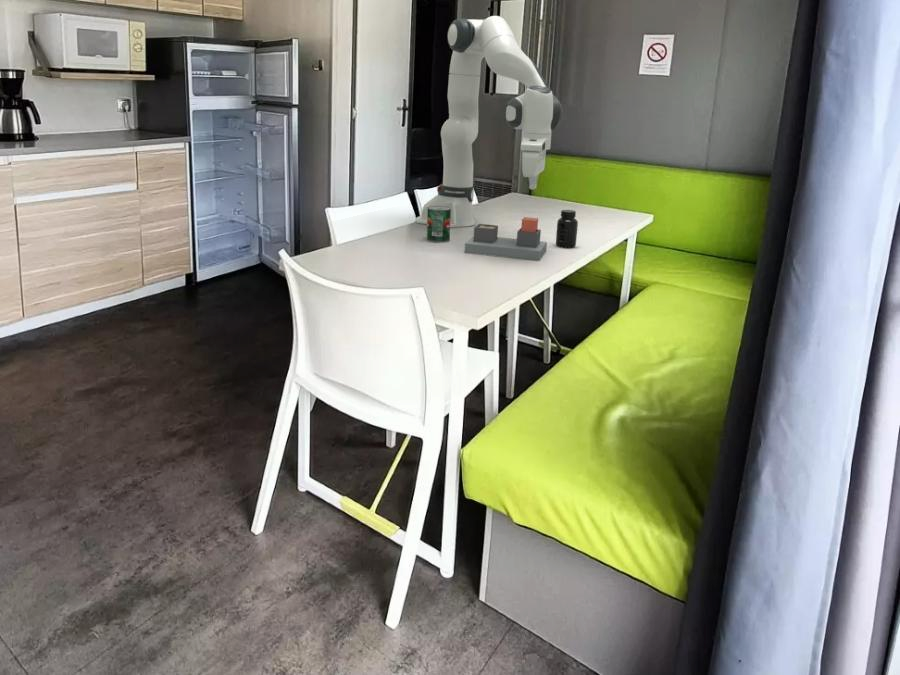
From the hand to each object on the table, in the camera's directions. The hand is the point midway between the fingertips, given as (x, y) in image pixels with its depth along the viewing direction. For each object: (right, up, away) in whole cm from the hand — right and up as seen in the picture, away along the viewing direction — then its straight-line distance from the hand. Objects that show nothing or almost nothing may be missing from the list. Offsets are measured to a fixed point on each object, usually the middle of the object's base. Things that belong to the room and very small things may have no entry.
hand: (532, 188), depth 222 cm
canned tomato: (-30, -13, +21) cm, 39 cm away
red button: (-1, -13, +5) cm, 13 cm away
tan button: (-14, -14, +10) cm, 22 cm away
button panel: (-8, -18, +9) cm, 22 cm away
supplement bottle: (+13, -15, +20) cm, 29 cm away
